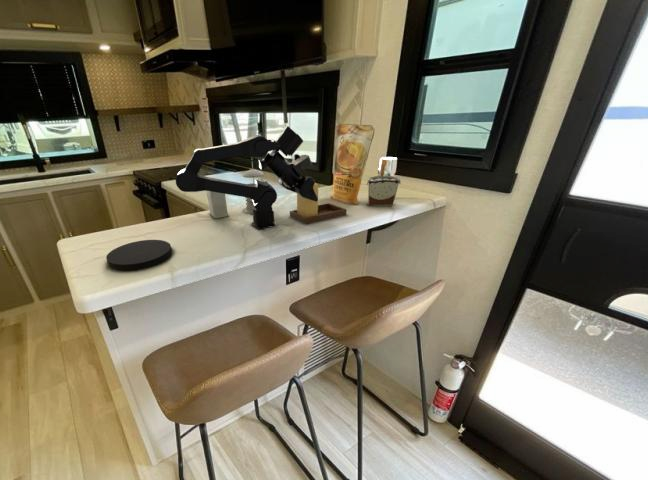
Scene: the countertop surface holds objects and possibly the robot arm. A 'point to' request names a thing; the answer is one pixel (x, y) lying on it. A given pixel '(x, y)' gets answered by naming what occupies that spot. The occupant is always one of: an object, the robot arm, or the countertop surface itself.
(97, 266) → the countertop surface
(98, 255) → the countertop surface
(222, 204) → the small box
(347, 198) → the pancake mix bag
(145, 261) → the wireless charger
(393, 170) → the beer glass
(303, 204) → the box
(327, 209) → the tray
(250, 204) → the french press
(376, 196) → the food container
